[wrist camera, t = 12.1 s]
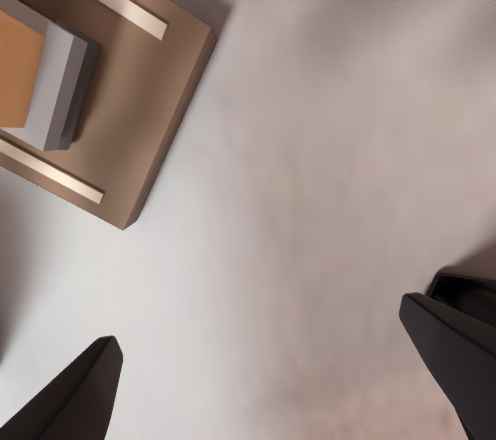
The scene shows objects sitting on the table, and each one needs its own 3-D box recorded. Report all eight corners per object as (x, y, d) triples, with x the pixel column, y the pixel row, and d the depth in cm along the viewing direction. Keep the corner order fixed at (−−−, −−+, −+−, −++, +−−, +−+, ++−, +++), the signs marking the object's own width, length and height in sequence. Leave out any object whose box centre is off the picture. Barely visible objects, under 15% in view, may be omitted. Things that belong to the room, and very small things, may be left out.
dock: (217, 39, 16) (210, 25, 14) (136, 221, 20) (121, 231, 18) (-39, -128, 14) (-92, -173, 12) (-67, 112, 18) (-109, 110, 16)
